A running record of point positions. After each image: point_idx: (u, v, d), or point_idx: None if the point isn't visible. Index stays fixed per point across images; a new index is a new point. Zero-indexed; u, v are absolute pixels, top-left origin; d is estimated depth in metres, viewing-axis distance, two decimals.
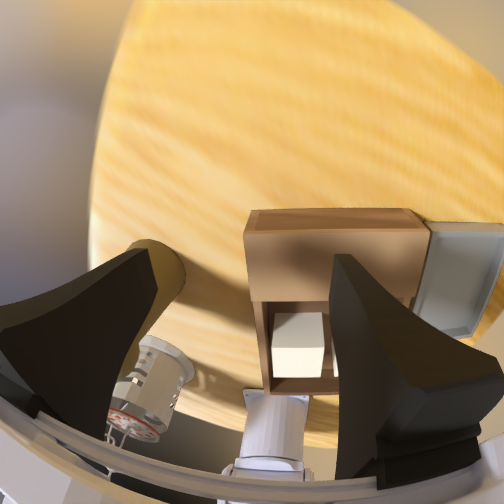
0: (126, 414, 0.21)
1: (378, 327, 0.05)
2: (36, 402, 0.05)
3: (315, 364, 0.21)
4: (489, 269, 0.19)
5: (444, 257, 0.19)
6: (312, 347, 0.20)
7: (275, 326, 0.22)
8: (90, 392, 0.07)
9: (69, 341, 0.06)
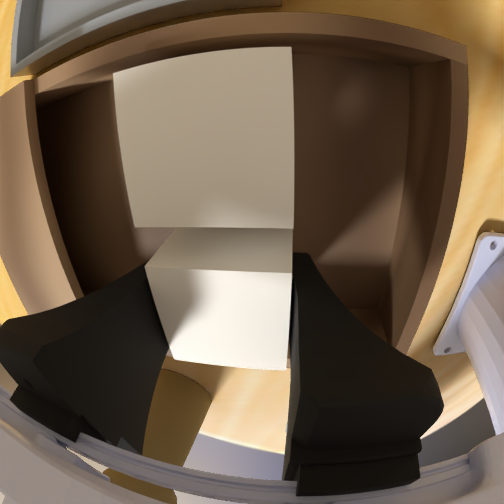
0: None
1: (304, 327, 0.05)
2: (77, 423, 0.04)
3: (219, 287, 0.07)
4: None
5: (67, 10, 0.06)
6: (152, 292, 0.08)
7: None
8: (131, 405, 0.06)
9: (111, 353, 0.06)
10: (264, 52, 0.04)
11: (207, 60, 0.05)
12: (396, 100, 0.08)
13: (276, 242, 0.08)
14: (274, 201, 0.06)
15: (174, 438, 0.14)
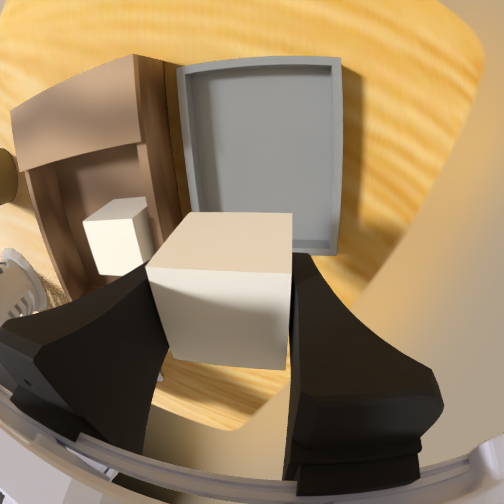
0: None
1: (305, 327, 0.05)
2: (77, 423, 0.04)
3: (219, 288, 0.07)
4: (331, 131, 0.15)
5: (225, 109, 0.15)
6: (153, 292, 0.08)
7: None
8: (131, 405, 0.06)
9: (112, 353, 0.06)
10: None
11: (138, 253, 0.16)
12: None
13: (275, 242, 0.08)
14: (104, 269, 0.17)
15: None
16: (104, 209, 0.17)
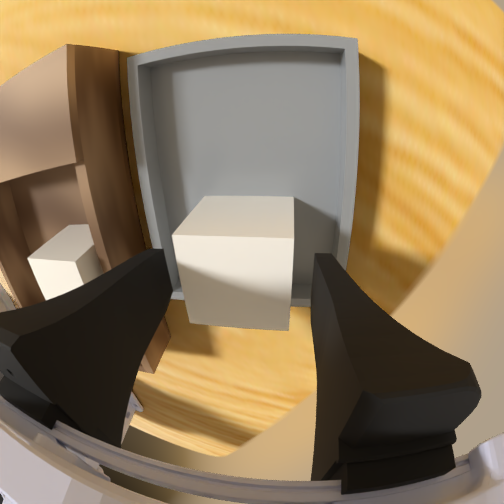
0: None
1: (345, 327, 0.05)
2: (53, 411, 0.05)
3: (235, 251, 0.09)
4: (340, 143, 0.11)
5: (193, 111, 0.11)
6: (176, 258, 0.10)
7: None
8: (108, 398, 0.07)
9: (88, 346, 0.06)
10: None
11: None
12: None
13: (280, 217, 0.10)
14: None
15: None
16: (53, 241, 0.13)
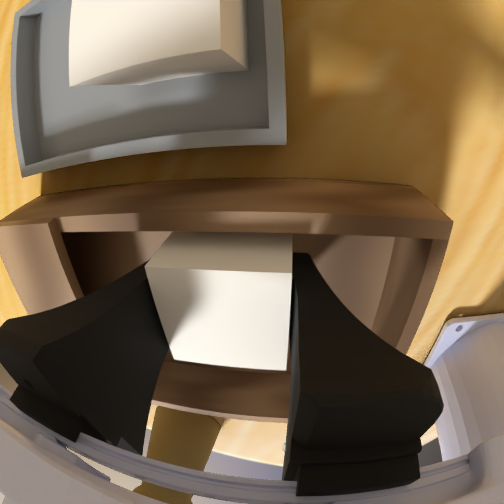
0: None
1: (304, 327, 0.05)
2: (77, 423, 0.04)
3: (85, 9, 0.04)
4: None
5: (68, 110, 0.09)
6: (97, 76, 0.05)
7: (235, 64, 0.06)
8: (131, 405, 0.06)
9: (112, 353, 0.06)
10: (270, 276, 0.07)
11: (225, 276, 0.07)
12: None
13: None
14: (273, 358, 0.09)
15: (192, 461, 0.17)
16: None
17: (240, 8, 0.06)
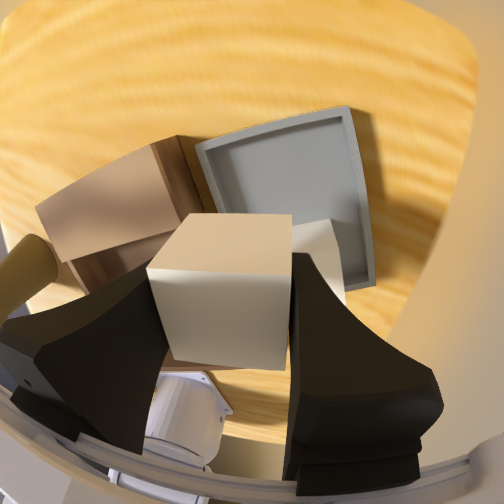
0: None
1: (304, 327, 0.05)
2: (77, 423, 0.04)
3: None
4: (352, 176, 0.16)
5: (251, 175, 0.17)
6: None
7: None
8: (131, 405, 0.06)
9: (112, 353, 0.06)
10: (270, 278, 0.07)
11: (225, 277, 0.07)
12: None
13: (326, 236, 0.16)
14: (272, 358, 0.09)
15: (29, 294, 0.21)
16: None
17: None
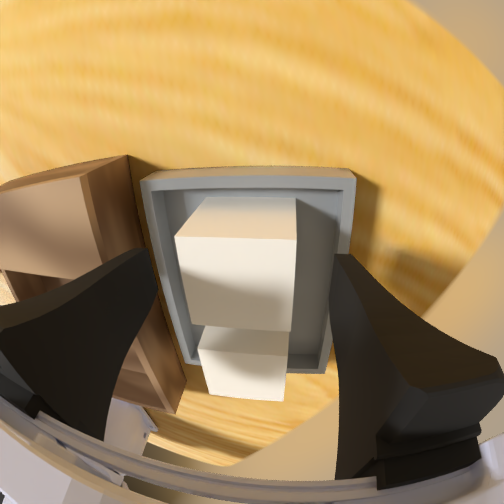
0: None
1: (378, 327, 0.05)
2: (36, 402, 0.05)
3: (244, 361, 0.12)
4: (332, 260, 0.13)
5: None
6: (200, 360, 0.12)
7: None
8: (90, 392, 0.07)
9: (69, 341, 0.06)
10: (279, 242, 0.09)
11: (242, 243, 0.09)
12: None
13: None
14: (280, 319, 0.10)
15: None
16: None
17: None
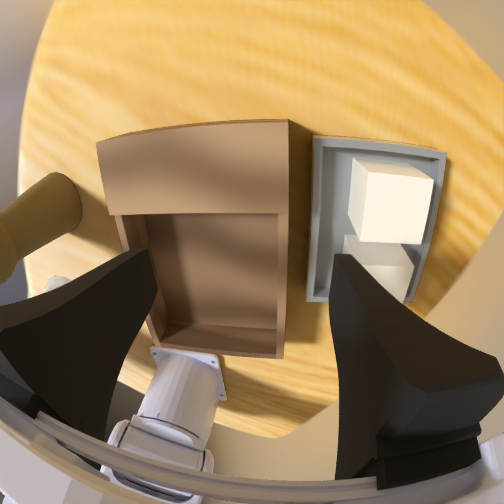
0: None
1: (378, 327, 0.05)
2: (36, 402, 0.05)
3: (386, 273, 0.16)
4: None
5: (347, 181, 0.17)
6: None
7: None
8: (90, 392, 0.07)
9: (69, 341, 0.06)
10: (425, 180, 0.13)
11: (407, 179, 0.13)
12: (263, 324, 0.25)
13: (400, 253, 0.17)
14: (417, 234, 0.14)
15: (44, 242, 0.18)
16: (354, 218, 0.16)
17: None
